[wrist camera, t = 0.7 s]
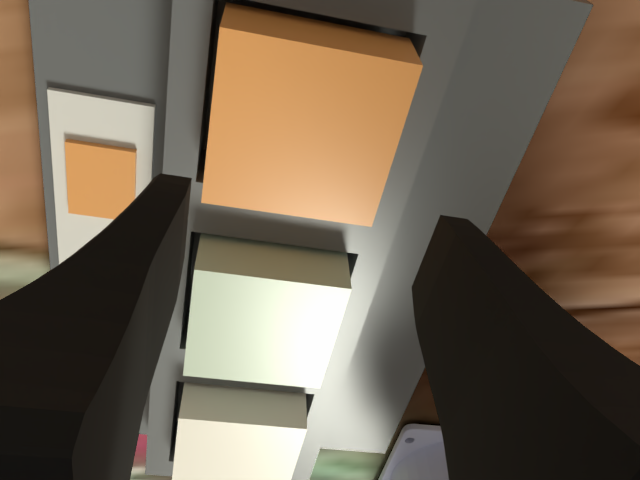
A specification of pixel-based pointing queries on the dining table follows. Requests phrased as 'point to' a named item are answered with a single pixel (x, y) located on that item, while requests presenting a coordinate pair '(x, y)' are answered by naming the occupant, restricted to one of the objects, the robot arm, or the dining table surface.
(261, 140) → the orange key
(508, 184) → the keypad
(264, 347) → the sage key
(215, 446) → the cream key
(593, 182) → the dining table surface
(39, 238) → the dining table surface
